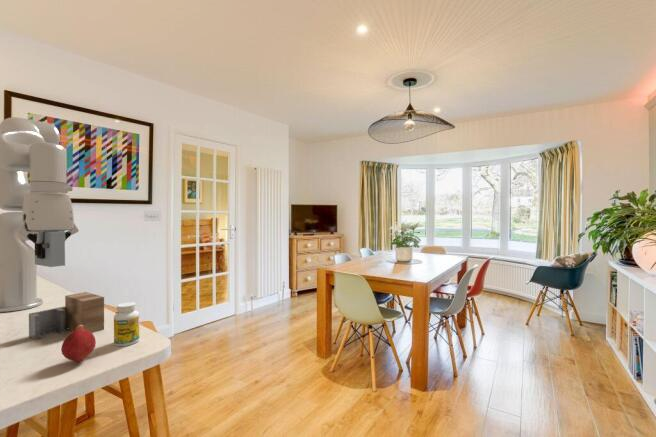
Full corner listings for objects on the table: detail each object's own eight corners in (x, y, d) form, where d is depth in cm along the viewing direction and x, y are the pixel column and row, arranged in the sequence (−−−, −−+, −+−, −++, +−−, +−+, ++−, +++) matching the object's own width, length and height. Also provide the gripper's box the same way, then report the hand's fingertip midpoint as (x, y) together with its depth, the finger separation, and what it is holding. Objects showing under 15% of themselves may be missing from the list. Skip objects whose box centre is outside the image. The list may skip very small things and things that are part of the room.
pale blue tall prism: (30, 264, 87) (29, 231, 87) (48, 263, 90) (48, 231, 90) (46, 267, 82) (45, 232, 82) (65, 265, 86) (64, 231, 86)
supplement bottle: (138, 336, 84) (138, 300, 83) (139, 343, 79) (139, 305, 79) (113, 341, 81) (113, 303, 81) (113, 348, 76) (113, 308, 76)
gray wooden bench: (29, 336, 82) (28, 313, 82) (69, 326, 90) (68, 305, 90) (35, 339, 81) (35, 316, 80) (75, 329, 88) (75, 307, 88)
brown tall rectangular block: (65, 328, 89) (65, 295, 89) (86, 322, 93) (86, 291, 93) (83, 335, 84) (82, 301, 84) (104, 329, 88) (104, 296, 88)
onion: (68, 371, 65) (68, 332, 65) (56, 363, 69) (56, 326, 68) (100, 360, 70) (100, 324, 70) (88, 353, 73) (88, 319, 73)
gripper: (77, 192, 96) (78, 253, 96) (1, 188, 81) (3, 260, 81) (90, 190, 92) (90, 255, 92) (13, 186, 78) (14, 262, 78)
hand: (49, 256), depth 87 cm, fingers closed on pale blue tall prism, 3 cm apart
